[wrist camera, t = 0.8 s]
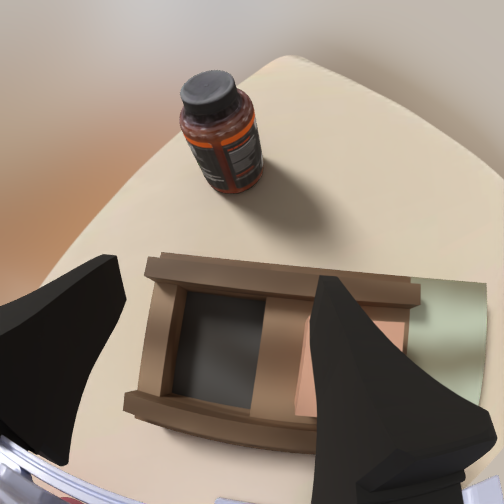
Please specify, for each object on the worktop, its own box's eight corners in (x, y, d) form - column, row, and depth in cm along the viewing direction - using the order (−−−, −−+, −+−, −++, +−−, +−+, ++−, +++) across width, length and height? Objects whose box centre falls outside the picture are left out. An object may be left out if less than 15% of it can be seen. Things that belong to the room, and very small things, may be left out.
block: (375, 407, 18) (392, 418, 14) (294, 402, 19) (295, 415, 15) (384, 327, 20) (404, 322, 16) (305, 321, 21) (309, 315, 17)
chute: (454, 436, 18) (481, 448, 13) (150, 411, 22) (122, 422, 18) (469, 290, 22) (499, 277, 17) (174, 262, 26) (151, 243, 22)
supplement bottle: (273, 154, 29) (262, 66, 18) (250, 203, 27) (226, 120, 17) (220, 142, 30) (192, 60, 20) (195, 187, 29) (151, 109, 18)
